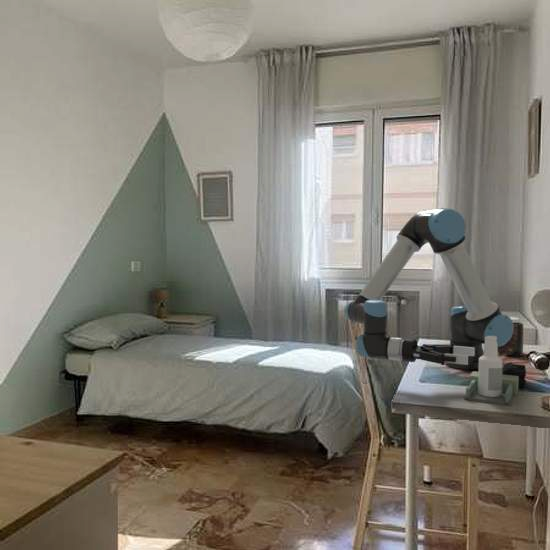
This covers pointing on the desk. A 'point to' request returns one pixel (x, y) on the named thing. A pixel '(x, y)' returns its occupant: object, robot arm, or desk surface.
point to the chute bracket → (505, 399)
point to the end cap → (516, 373)
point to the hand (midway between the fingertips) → (471, 355)
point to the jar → (514, 340)
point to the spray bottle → (490, 369)
